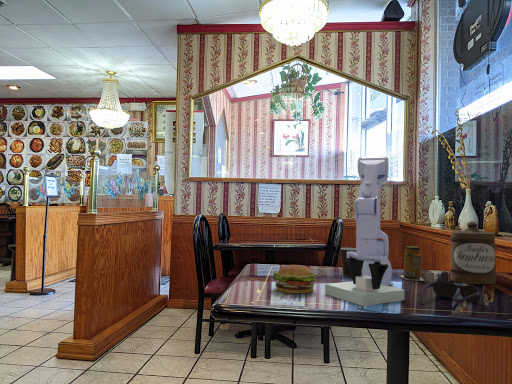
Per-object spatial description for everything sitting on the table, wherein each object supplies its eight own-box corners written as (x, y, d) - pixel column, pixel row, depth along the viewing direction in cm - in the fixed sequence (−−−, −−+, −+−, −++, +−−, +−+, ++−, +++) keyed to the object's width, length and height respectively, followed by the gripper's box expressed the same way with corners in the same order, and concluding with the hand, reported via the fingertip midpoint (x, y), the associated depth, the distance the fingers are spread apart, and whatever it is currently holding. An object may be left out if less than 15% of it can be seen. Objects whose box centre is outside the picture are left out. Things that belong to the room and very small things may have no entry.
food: (319, 287, 130) (319, 263, 131) (313, 296, 117) (313, 269, 117) (278, 284, 134) (278, 260, 134) (268, 292, 121) (268, 266, 121)
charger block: (366, 298, 116) (366, 275, 116) (376, 300, 112) (376, 277, 113) (355, 299, 114) (355, 276, 114) (365, 302, 110) (365, 278, 111)
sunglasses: (484, 304, 112) (484, 286, 112) (464, 313, 101) (464, 294, 101) (435, 295, 122) (435, 279, 122) (412, 303, 111) (412, 285, 111)
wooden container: (454, 283, 142) (454, 221, 142) (446, 276, 156) (446, 220, 157) (501, 286, 138) (501, 222, 138) (489, 279, 152) (488, 221, 153)
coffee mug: (348, 271, 163) (348, 247, 163) (366, 274, 157) (366, 249, 157) (331, 274, 155) (331, 249, 156) (349, 277, 149) (350, 251, 149)
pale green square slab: (364, 289, 128) (364, 280, 128) (404, 300, 114) (404, 289, 114) (325, 294, 120) (325, 284, 120) (362, 306, 106) (362, 294, 106)
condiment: (419, 277, 153) (419, 246, 154) (425, 281, 145) (425, 248, 146) (400, 276, 155) (400, 245, 155) (404, 280, 146) (404, 247, 147)
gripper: (338, 237, 118) (338, 283, 118) (374, 241, 106) (374, 292, 105) (356, 236, 122) (356, 281, 121) (393, 240, 109) (393, 290, 109)
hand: (366, 286), depth 113 cm, fingers open, 7 cm apart
